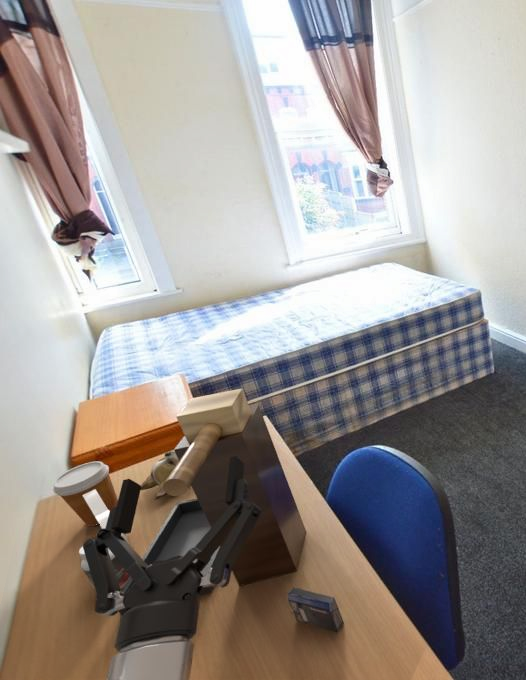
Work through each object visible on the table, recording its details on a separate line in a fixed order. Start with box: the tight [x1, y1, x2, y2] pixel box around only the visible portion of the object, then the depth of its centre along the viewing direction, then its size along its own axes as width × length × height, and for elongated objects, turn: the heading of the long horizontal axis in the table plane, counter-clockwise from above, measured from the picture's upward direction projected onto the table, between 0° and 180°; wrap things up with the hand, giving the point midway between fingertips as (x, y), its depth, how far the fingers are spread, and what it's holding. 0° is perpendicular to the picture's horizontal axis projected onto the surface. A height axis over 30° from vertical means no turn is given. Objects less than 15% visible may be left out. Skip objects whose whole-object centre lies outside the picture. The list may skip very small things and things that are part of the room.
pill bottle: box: [78, 545, 130, 590], centre depth 86 cm, size 5×5×10 cm
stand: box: [173, 404, 307, 587], centre depth 84 cm, size 10×10×30 cm
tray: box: [118, 497, 221, 617], centre depth 93 cm, size 26×15×3 cm, turn 13°
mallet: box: [163, 388, 252, 497], centre depth 70 cm, size 20×8×5 cm, turn 13°
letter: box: [82, 489, 132, 547], centre depth 96 cm, size 22×2×10 cm, turn 51°
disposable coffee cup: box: [52, 460, 119, 526], centre depth 104 cm, size 10×10×12 cm
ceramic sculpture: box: [140, 450, 179, 500], centre depth 114 cm, size 11×9×15 cm
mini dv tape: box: [286, 587, 345, 633], centre depth 75 cm, size 8×2×6 cm, turn 72°
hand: (185, 471), depth 66 cm, fingers open, 13 cm apart
